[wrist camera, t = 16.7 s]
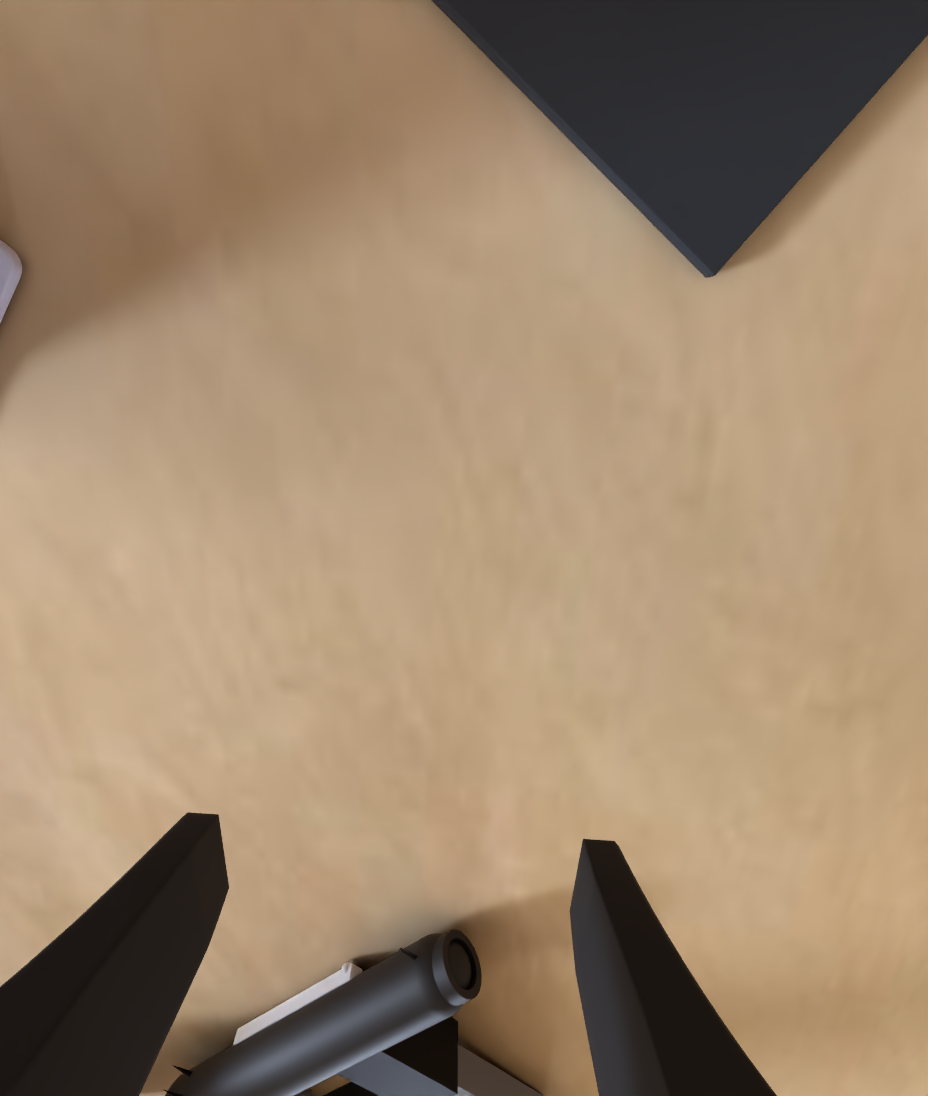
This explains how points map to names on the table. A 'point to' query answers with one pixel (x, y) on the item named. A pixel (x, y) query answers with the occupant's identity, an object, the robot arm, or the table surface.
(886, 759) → the table surface
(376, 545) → the table surface
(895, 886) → the table surface
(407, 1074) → the door handle
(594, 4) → the mat
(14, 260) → the robot arm
